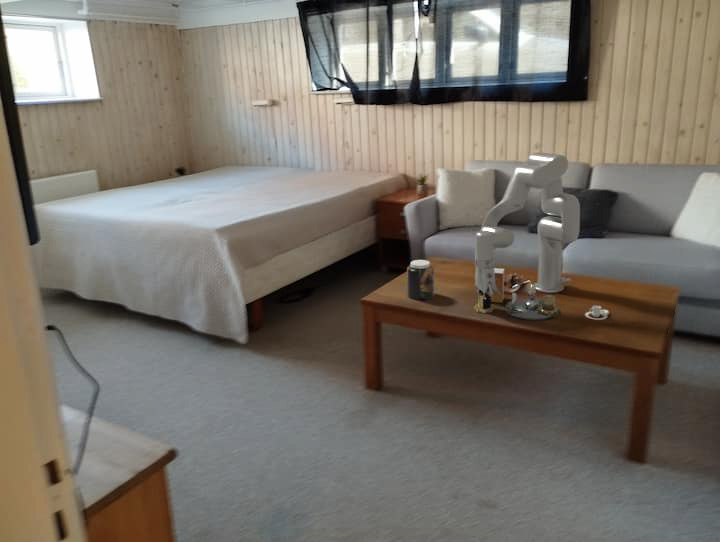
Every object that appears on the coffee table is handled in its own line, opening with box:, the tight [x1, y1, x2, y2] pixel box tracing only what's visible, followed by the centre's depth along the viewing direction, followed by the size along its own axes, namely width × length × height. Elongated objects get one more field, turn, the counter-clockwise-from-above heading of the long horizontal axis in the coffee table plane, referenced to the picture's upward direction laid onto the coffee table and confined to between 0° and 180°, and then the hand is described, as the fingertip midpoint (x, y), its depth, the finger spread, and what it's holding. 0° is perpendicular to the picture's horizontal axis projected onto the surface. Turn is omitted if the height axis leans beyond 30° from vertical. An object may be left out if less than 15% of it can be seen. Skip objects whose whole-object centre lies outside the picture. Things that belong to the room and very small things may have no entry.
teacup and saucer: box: [584, 305, 610, 321], centre depth 229 cm, size 9×8×4 cm
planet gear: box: [473, 292, 495, 314], centre depth 240 cm, size 8×7×6 cm
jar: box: [406, 259, 435, 301], centre depth 258 cm, size 12×12×15 cm
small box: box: [486, 267, 506, 304], centre depth 249 cm, size 8×6×13 cm
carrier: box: [504, 283, 560, 321], centre depth 237 cm, size 20×20×8 cm
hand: (484, 305), depth 241 cm, fingers closed on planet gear, 4 cm apart
